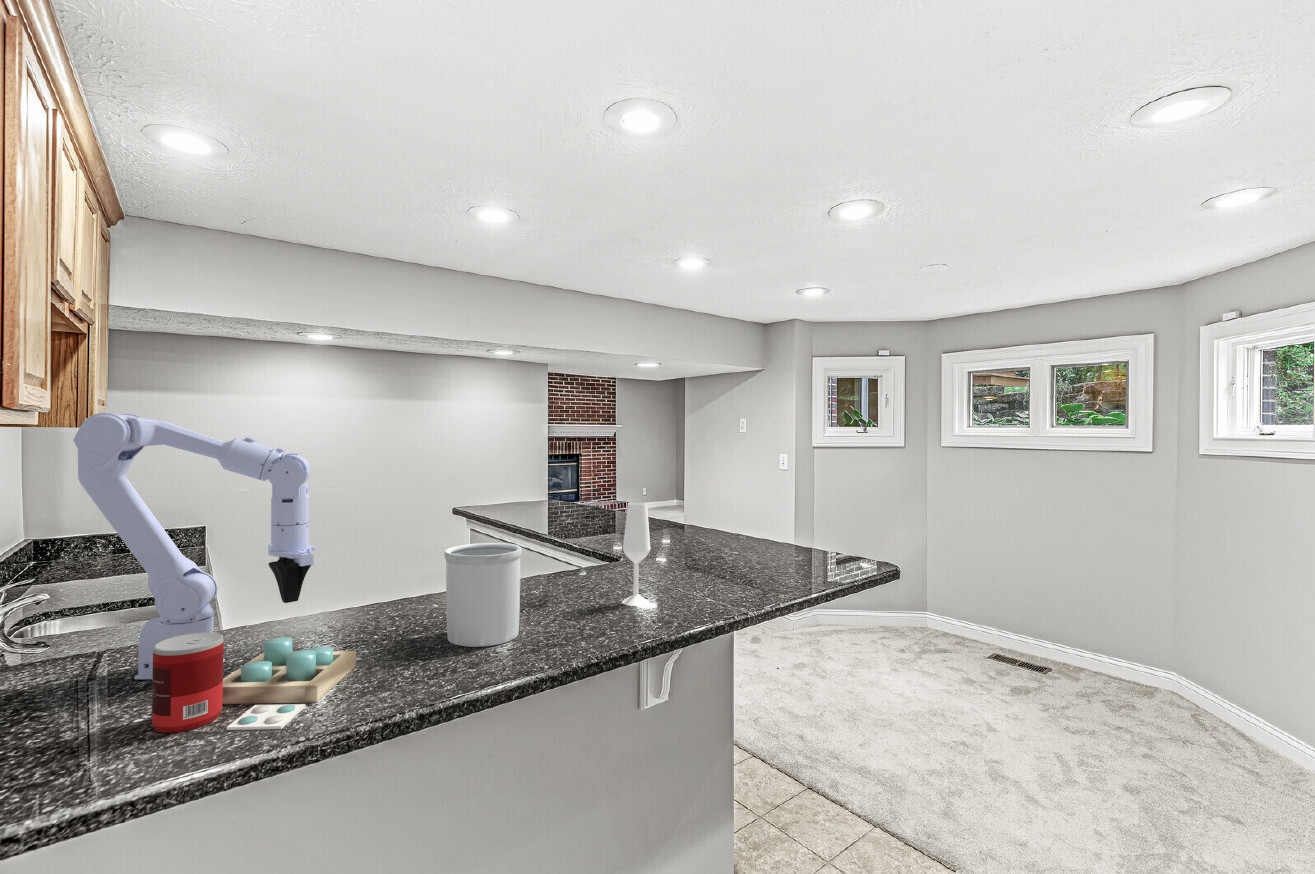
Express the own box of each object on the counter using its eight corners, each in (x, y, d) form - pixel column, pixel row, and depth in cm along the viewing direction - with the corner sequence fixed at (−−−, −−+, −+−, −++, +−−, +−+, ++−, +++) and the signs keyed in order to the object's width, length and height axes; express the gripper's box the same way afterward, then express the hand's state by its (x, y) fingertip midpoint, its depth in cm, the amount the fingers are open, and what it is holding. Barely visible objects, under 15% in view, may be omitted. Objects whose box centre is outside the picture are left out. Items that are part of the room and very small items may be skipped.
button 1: (235, 693, 95) (235, 670, 95) (249, 683, 99) (250, 660, 99) (263, 693, 95) (263, 670, 95) (276, 682, 99) (277, 660, 99)
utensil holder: (426, 643, 121) (428, 551, 121) (471, 621, 135) (473, 540, 135) (494, 652, 117) (496, 557, 117) (533, 629, 131) (535, 544, 131)
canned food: (234, 708, 91) (236, 632, 91) (196, 734, 83) (197, 650, 83) (180, 707, 91) (181, 631, 91) (136, 733, 83) (138, 650, 83)
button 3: (280, 682, 96) (281, 659, 96) (293, 672, 100) (293, 650, 100) (308, 681, 96) (308, 658, 96) (320, 671, 100) (320, 649, 100)
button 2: (258, 666, 101) (258, 645, 101) (271, 658, 105) (271, 637, 105) (284, 666, 102) (285, 644, 102) (296, 657, 106) (296, 637, 106)
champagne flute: (633, 607, 149) (636, 505, 149) (616, 601, 154) (618, 503, 154) (655, 602, 154) (657, 504, 154) (637, 597, 159) (638, 501, 158)
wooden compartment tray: (209, 704, 93) (210, 687, 93) (264, 666, 107) (264, 651, 107) (317, 702, 94) (317, 685, 94) (355, 665, 109) (356, 650, 109)
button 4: (300, 676, 102) (301, 654, 102) (312, 667, 106) (312, 646, 106) (326, 676, 102) (327, 654, 102) (336, 667, 106) (337, 646, 106)
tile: (226, 730, 85) (226, 725, 85) (254, 707, 92) (254, 703, 92) (281, 728, 85) (281, 724, 85) (305, 706, 92) (305, 702, 92)
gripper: (332, 525, 109) (332, 603, 109) (298, 517, 118) (298, 590, 118) (287, 529, 103) (287, 612, 103) (255, 521, 112) (255, 597, 113)
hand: (290, 601), depth 110 cm, fingers closed
